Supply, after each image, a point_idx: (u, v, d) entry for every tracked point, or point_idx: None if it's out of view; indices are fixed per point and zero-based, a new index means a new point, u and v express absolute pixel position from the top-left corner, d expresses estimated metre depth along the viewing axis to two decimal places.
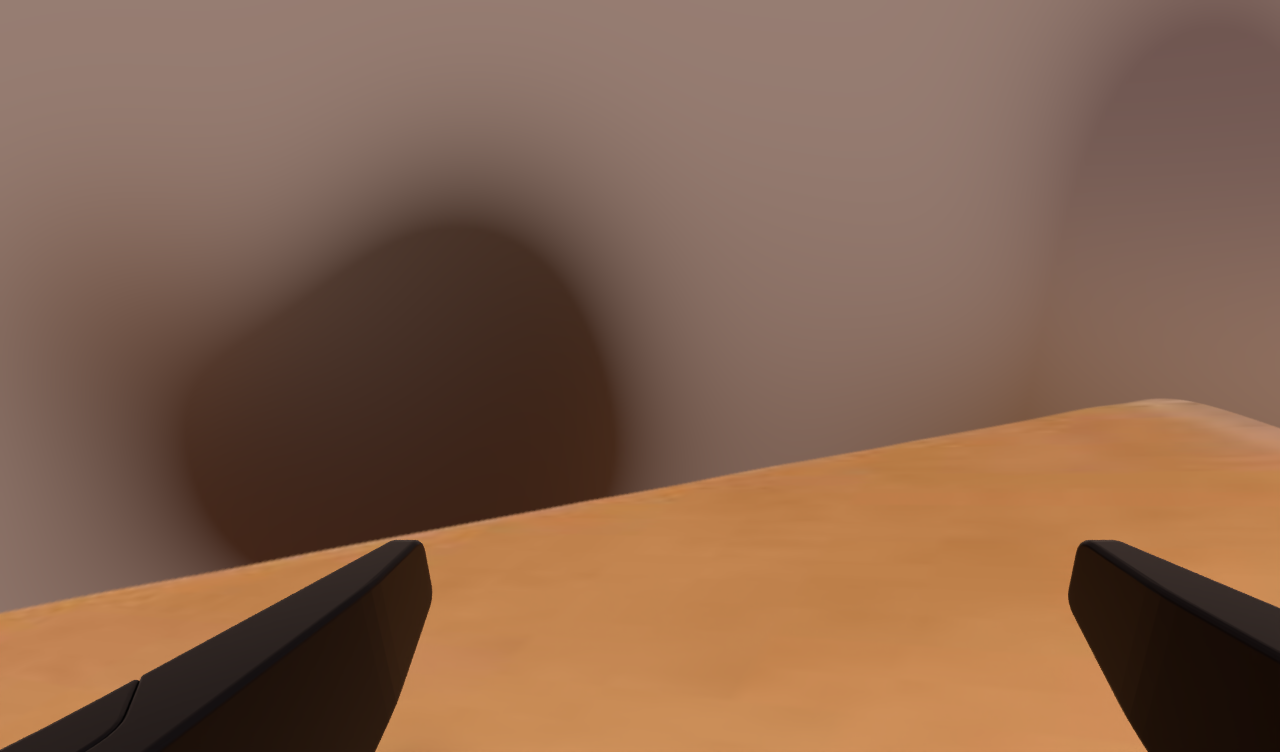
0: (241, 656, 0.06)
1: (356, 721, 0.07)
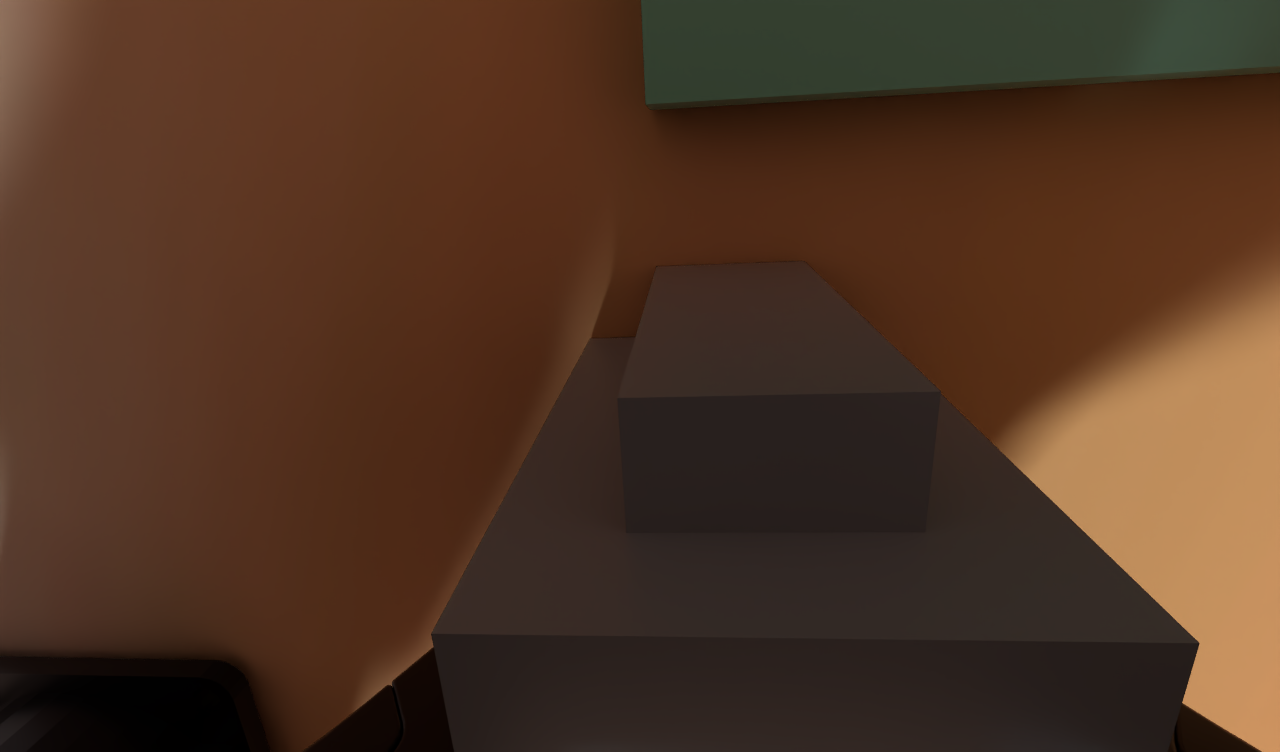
0: None
1: None
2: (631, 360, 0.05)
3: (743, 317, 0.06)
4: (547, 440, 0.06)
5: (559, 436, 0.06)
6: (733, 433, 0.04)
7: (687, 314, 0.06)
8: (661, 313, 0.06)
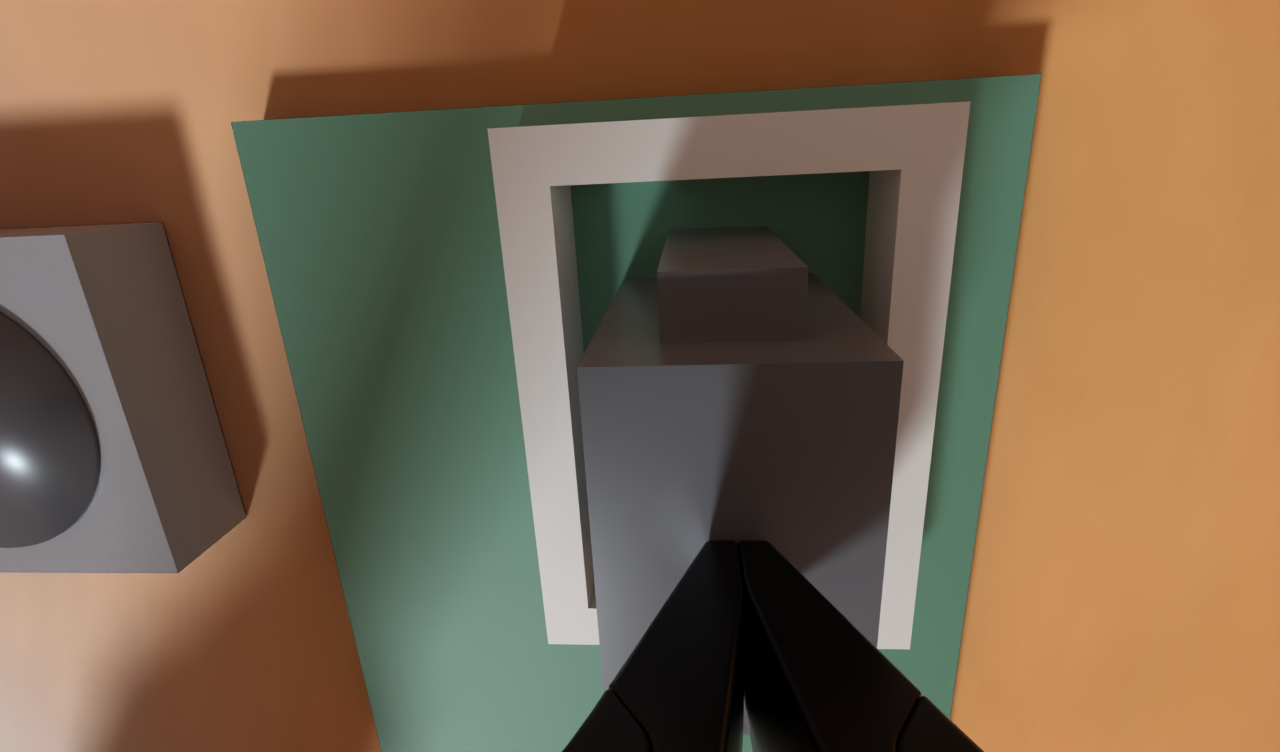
0: (696, 664, 0.06)
1: (740, 731, 0.07)
2: (661, 262, 0.09)
3: (721, 248, 0.10)
4: (609, 318, 0.10)
5: (616, 316, 0.10)
6: (712, 289, 0.09)
7: (689, 248, 0.11)
8: (674, 248, 0.11)
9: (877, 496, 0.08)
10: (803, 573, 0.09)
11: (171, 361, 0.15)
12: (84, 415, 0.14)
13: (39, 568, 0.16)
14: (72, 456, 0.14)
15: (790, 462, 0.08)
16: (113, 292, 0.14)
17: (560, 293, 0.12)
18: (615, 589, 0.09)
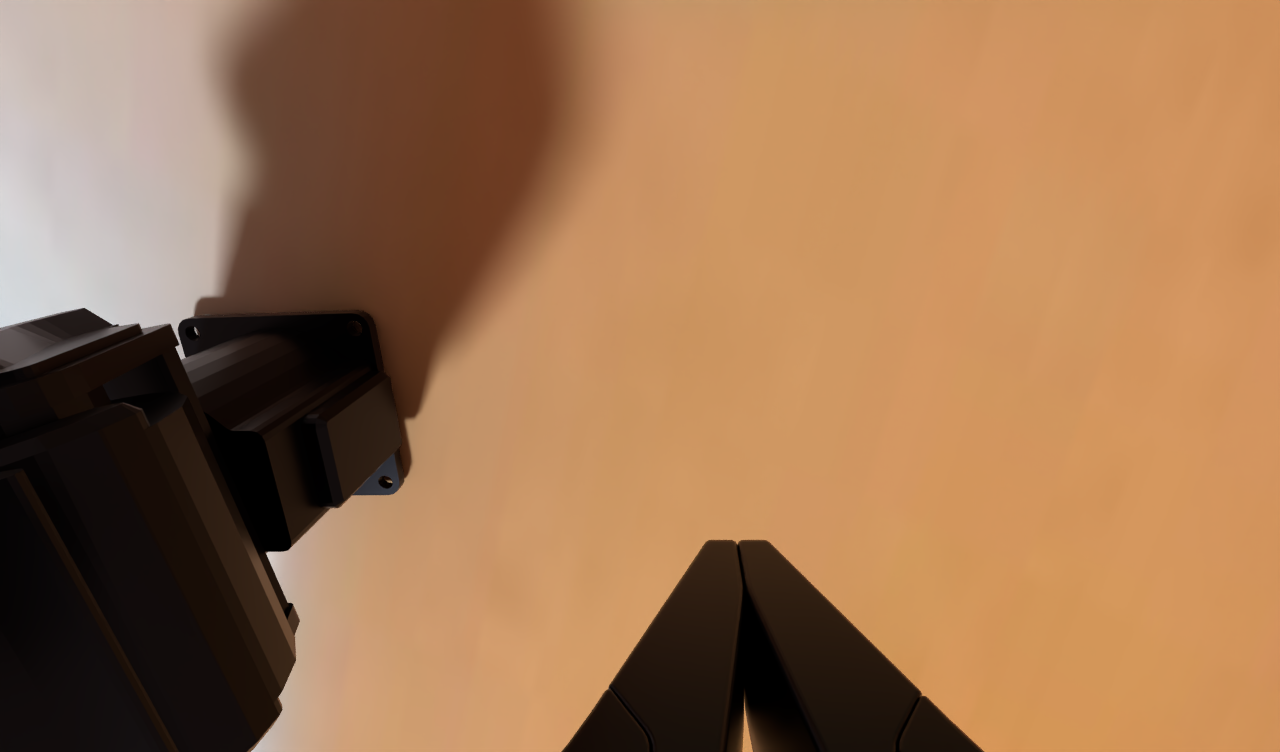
0: (696, 664, 0.06)
1: (741, 731, 0.07)
2: None
3: None
4: None
5: None
6: None
7: None
8: None
9: None
10: None
11: None
12: None
13: None
14: None
15: None
16: None
17: None
18: None
